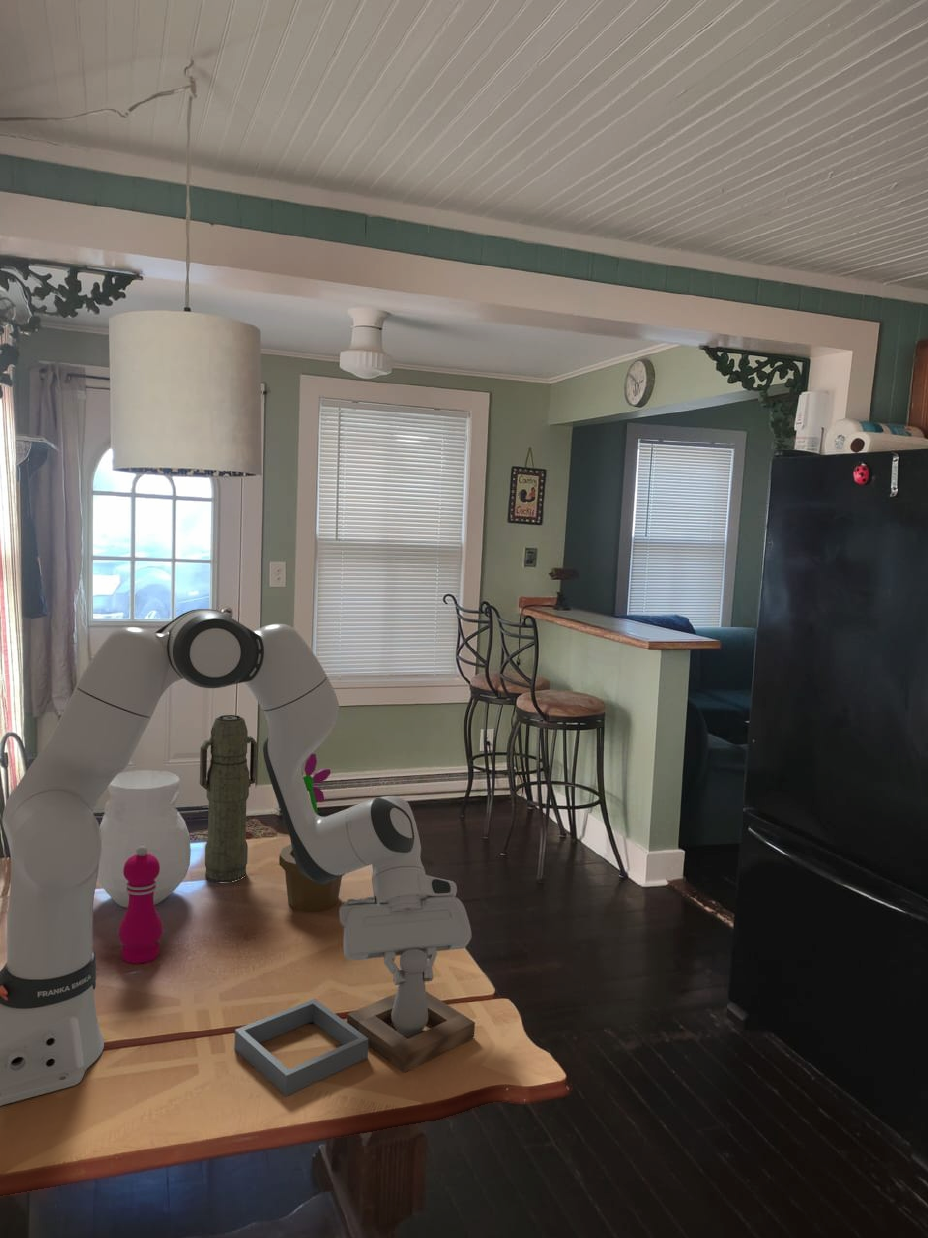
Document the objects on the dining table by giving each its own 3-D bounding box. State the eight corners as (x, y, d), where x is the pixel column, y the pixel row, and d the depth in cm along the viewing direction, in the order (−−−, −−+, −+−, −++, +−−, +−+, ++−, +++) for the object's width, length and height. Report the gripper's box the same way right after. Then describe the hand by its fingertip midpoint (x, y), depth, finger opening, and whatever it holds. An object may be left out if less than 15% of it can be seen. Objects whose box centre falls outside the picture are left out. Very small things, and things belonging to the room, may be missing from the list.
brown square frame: (404, 1072, 129) (404, 1056, 128) (346, 1029, 139) (347, 1014, 138) (474, 1037, 138) (474, 1022, 138) (415, 999, 148) (416, 985, 148)
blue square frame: (285, 1096, 122) (286, 1075, 122) (234, 1049, 132) (234, 1030, 132) (367, 1058, 132) (368, 1039, 131) (314, 1016, 142) (314, 998, 141)
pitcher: (137, 928, 168) (138, 799, 165) (72, 903, 177) (72, 780, 174) (209, 894, 184) (212, 776, 182) (147, 873, 193) (148, 760, 190)
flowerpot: (320, 881, 194) (325, 746, 191) (362, 903, 184) (368, 761, 181) (264, 898, 184) (268, 756, 181) (305, 923, 174) (310, 772, 171)
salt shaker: (418, 1047, 135) (423, 968, 133) (384, 1036, 137) (389, 958, 135) (433, 1025, 141) (438, 949, 139) (400, 1015, 143) (405, 940, 140)
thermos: (191, 873, 194) (194, 715, 190) (242, 863, 201) (246, 710, 198) (207, 888, 187) (211, 724, 183) (259, 876, 195) (264, 719, 191)
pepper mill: (112, 952, 158) (113, 843, 156) (152, 942, 163) (154, 836, 161) (127, 969, 153) (128, 857, 151) (168, 958, 157) (170, 848, 155)
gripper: (340, 892, 139) (350, 983, 131) (465, 882, 146) (481, 968, 138) (334, 907, 144) (343, 996, 136) (455, 897, 151) (470, 981, 143)
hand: (414, 982), depth 137 cm, fingers closed on salt shaker, 3 cm apart
